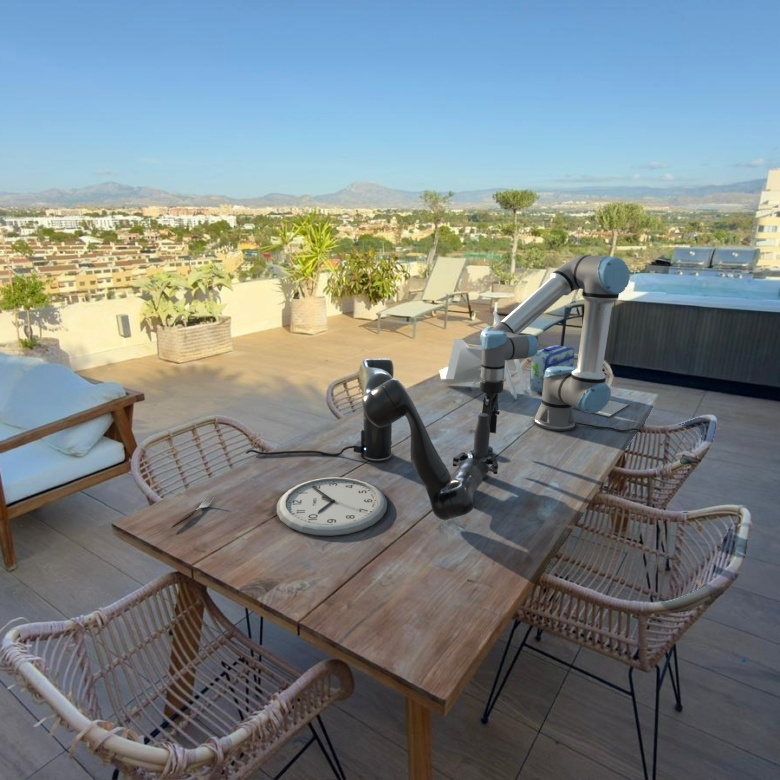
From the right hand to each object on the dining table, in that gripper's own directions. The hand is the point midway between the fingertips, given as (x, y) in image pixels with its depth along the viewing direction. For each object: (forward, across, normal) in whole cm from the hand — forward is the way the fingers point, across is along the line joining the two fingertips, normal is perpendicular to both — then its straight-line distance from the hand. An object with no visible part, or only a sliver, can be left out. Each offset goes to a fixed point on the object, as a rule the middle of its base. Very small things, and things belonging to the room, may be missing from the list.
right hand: (488, 439), depth 176 cm
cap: (+3, 0, 0) cm, 3 cm away
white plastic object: (+6, -67, -16) cm, 70 cm away
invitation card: (+6, -68, +37) cm, 78 cm away
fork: (+3, +69, -64) cm, 95 cm away
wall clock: (+4, +51, -33) cm, 61 cm away
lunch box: (+6, -84, +14) cm, 86 cm away
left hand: (-1, +15, +1) cm, 15 cm away
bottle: (+5, +18, +1) cm, 18 cm away
